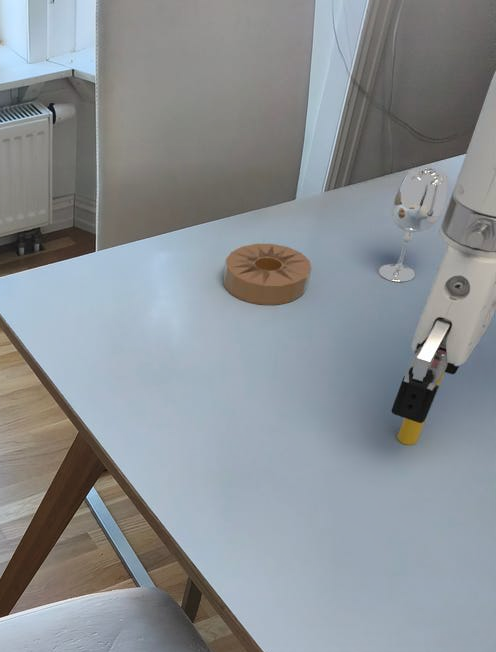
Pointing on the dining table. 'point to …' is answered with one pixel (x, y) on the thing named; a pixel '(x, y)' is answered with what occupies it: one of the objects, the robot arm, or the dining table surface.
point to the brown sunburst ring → (266, 274)
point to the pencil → (411, 428)
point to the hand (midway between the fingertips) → (424, 392)
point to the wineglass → (416, 212)
